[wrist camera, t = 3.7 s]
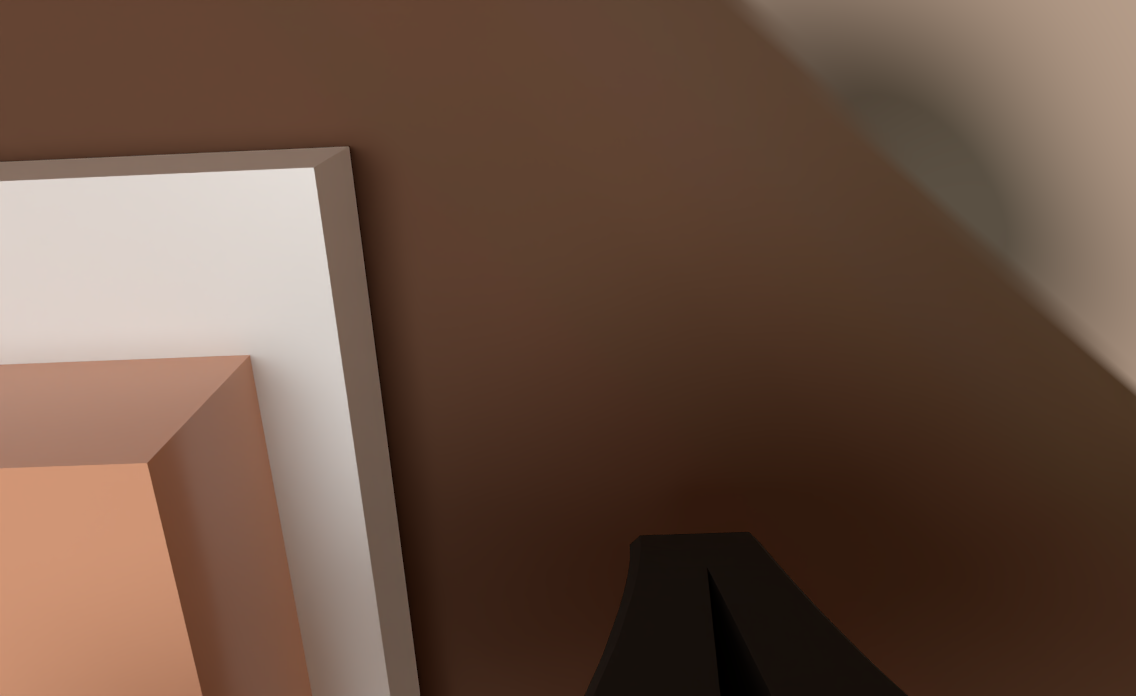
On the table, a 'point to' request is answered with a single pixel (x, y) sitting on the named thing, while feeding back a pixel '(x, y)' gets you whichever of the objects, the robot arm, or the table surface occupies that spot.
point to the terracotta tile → (141, 534)
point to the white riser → (237, 349)
